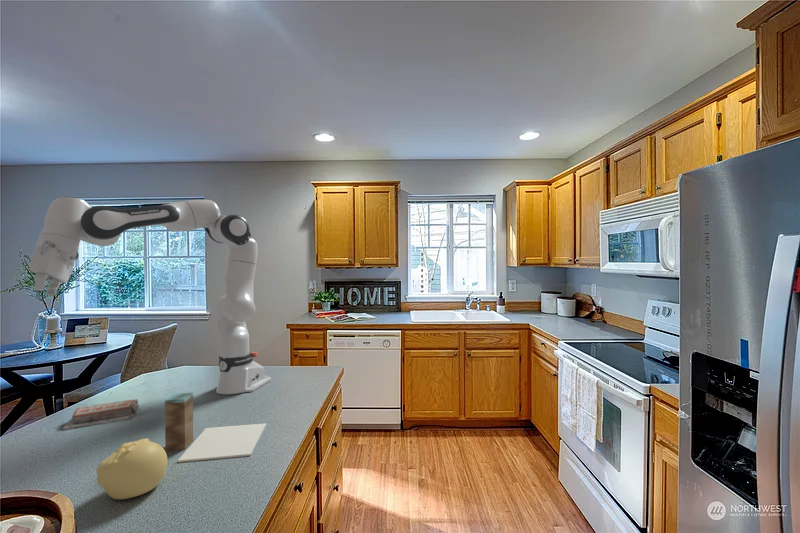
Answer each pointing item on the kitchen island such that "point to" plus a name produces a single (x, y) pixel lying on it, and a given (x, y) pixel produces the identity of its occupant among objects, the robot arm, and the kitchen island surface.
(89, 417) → the packaged product
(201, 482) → the kitchen island surface
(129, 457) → the sculpture
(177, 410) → the walnut block
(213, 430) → the cream mat
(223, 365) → the robot arm
